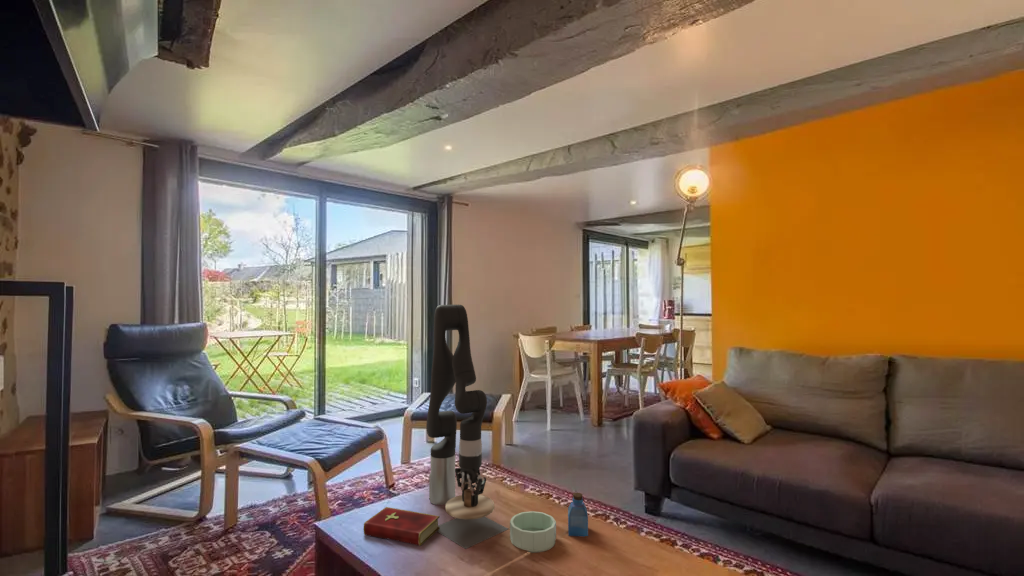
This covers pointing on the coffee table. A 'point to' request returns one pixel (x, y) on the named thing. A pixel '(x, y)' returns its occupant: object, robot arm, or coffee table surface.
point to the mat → (470, 530)
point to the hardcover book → (402, 526)
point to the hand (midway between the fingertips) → (470, 503)
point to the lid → (469, 506)
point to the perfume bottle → (577, 517)
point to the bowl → (533, 531)
